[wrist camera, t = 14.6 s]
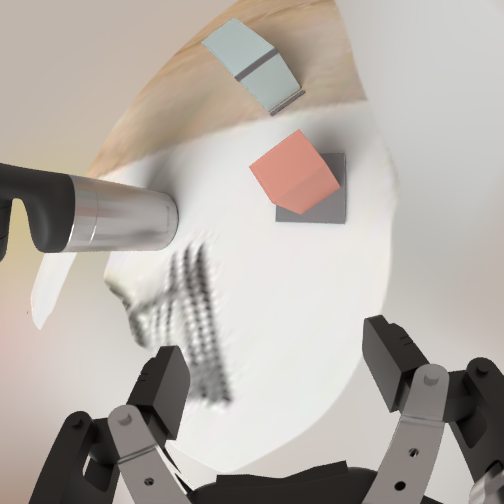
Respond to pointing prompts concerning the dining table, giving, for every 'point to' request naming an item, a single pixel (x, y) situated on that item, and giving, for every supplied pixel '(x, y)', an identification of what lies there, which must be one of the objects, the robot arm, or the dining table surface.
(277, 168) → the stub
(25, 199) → the robot arm
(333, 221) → the coaster
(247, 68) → the pale green block
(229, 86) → the dining table surface
